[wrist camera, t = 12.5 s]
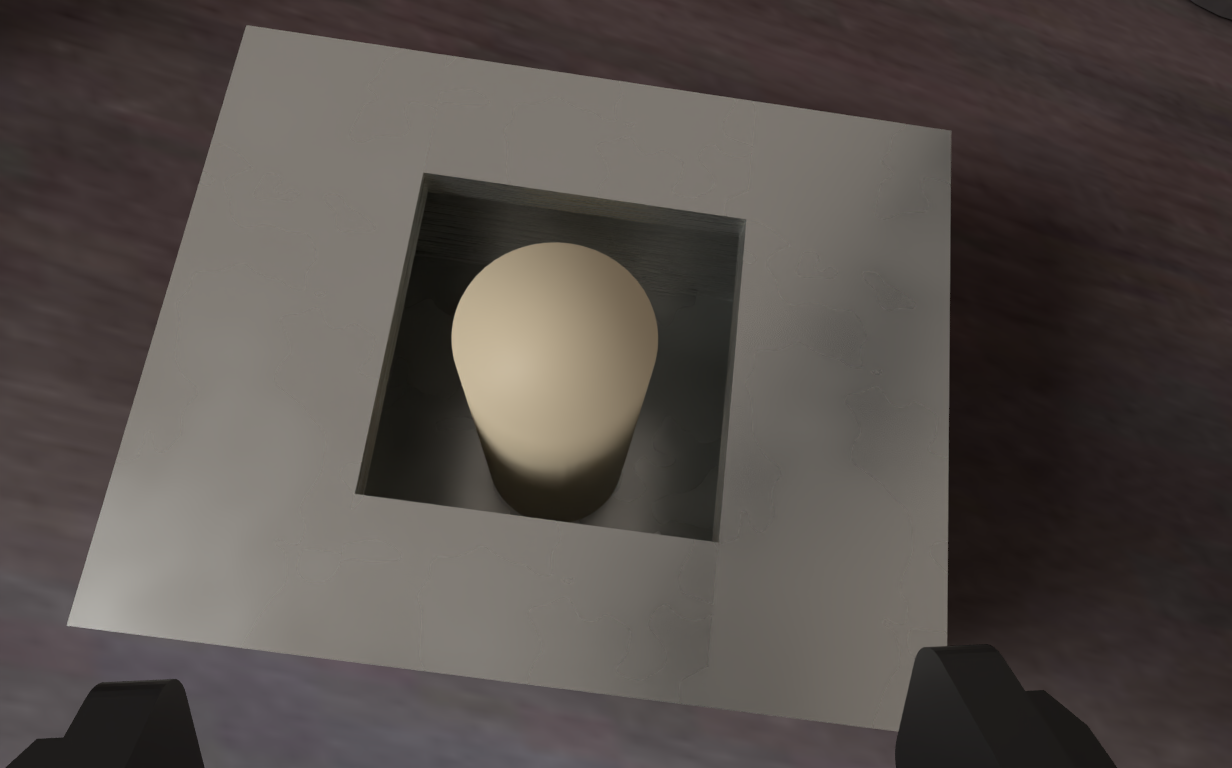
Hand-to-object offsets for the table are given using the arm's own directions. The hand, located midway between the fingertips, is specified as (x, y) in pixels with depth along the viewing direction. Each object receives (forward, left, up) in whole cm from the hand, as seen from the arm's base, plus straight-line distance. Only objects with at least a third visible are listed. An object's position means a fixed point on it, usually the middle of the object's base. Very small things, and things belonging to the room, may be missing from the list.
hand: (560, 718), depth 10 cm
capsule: (+1, -7, -16) cm, 17 cm away
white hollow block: (+1, -7, -17) cm, 18 cm away
